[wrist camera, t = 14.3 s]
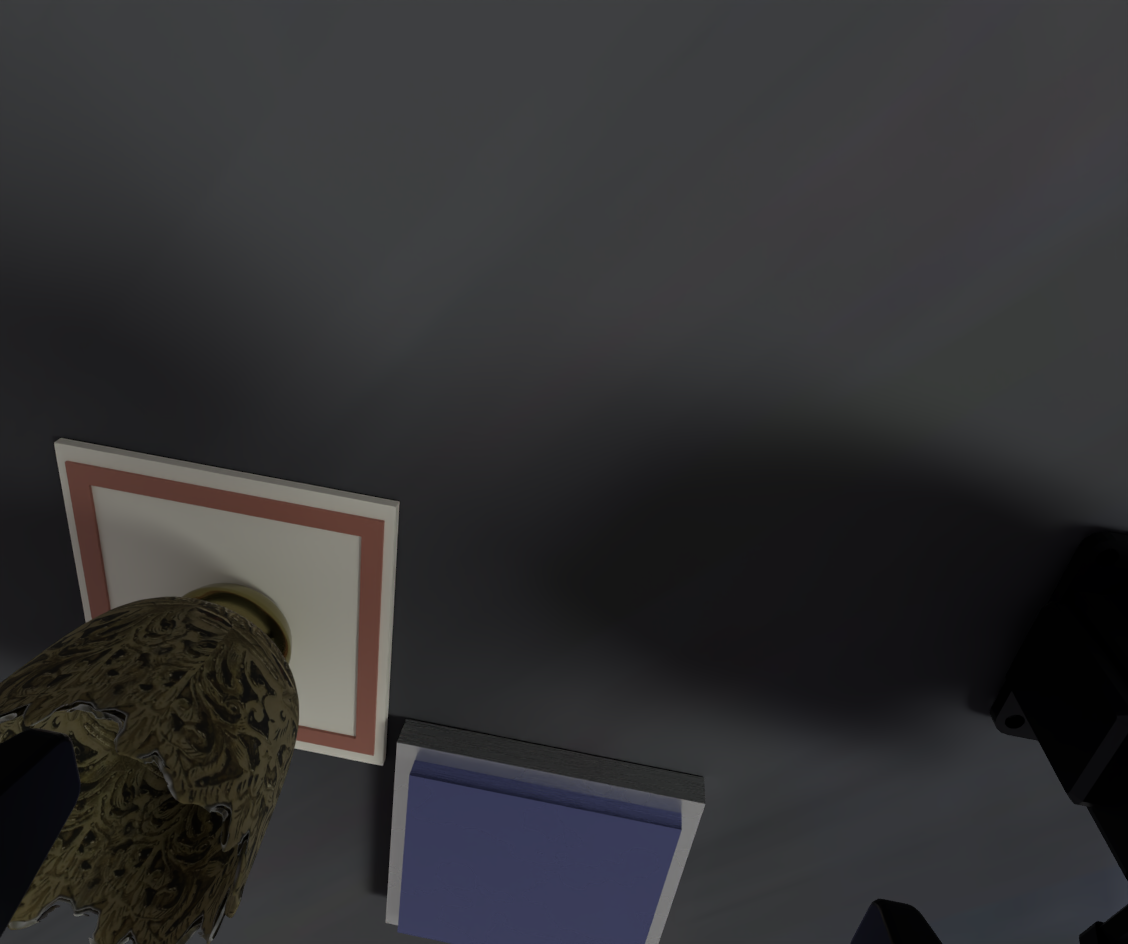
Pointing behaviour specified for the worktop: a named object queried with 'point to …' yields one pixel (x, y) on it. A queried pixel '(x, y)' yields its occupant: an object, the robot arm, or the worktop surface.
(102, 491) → the marked card
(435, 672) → the worktop surface
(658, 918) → the ink pad
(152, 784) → the ornate bronze cup
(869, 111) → the worktop surface
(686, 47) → the worktop surface
